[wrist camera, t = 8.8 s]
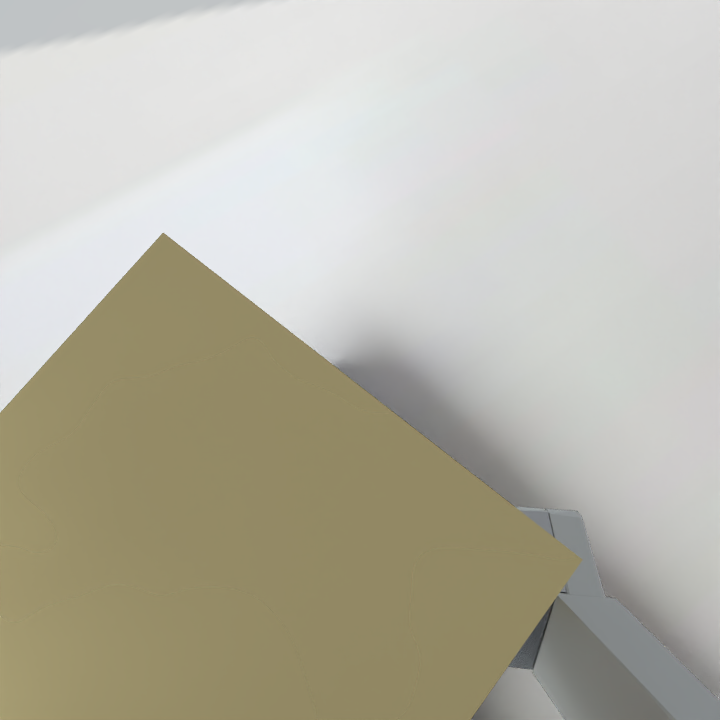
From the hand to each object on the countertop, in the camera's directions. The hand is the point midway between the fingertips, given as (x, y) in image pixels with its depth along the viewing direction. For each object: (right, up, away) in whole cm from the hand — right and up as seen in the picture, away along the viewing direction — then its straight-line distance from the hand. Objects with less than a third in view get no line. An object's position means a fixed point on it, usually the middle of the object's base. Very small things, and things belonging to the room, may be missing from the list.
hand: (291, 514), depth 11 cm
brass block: (0, -2, +6) cm, 6 cm away
